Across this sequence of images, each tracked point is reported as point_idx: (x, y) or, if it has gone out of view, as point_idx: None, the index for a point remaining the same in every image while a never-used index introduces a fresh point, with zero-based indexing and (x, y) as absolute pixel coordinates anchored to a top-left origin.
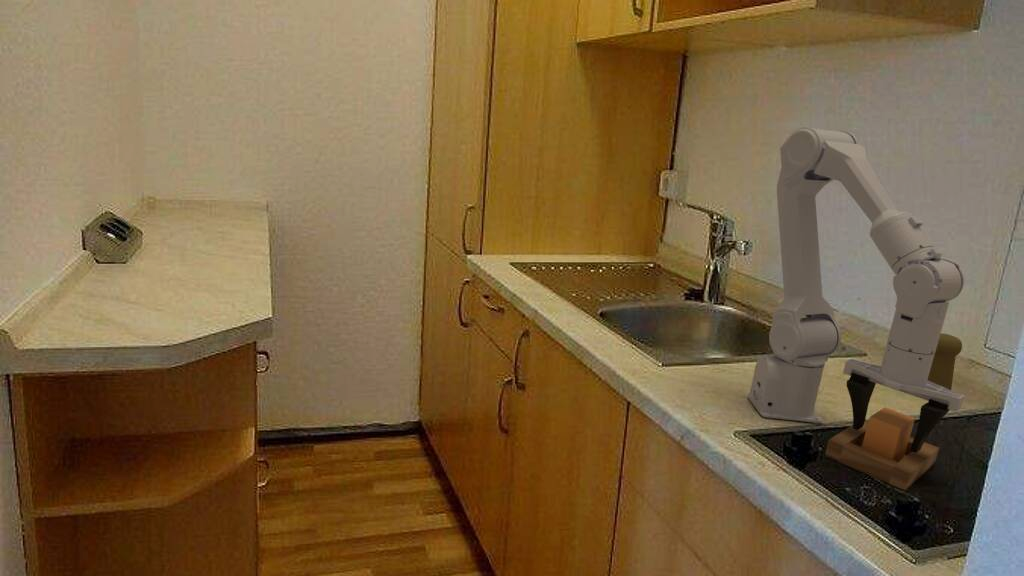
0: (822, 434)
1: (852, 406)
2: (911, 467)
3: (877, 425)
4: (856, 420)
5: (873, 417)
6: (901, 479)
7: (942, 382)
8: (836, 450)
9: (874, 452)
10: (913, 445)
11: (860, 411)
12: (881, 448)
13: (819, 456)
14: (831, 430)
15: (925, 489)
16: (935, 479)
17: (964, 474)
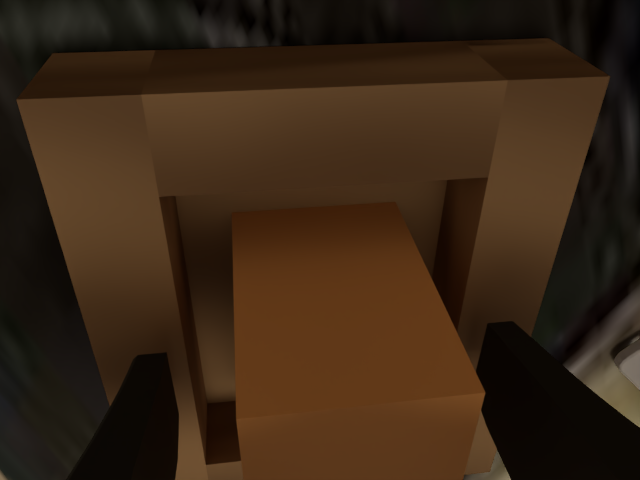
0: (594, 273)
1: (632, 422)
2: (73, 203)
3: (401, 366)
4: (533, 357)
5: (459, 410)
6: (77, 72)
7: None
8: (520, 60)
9: (335, 237)
10: (149, 381)
11: (557, 422)
12: (309, 266)
13: (573, 4)
14: (564, 341)
15: (14, 187)
16: (63, 328)
17: (37, 460)
